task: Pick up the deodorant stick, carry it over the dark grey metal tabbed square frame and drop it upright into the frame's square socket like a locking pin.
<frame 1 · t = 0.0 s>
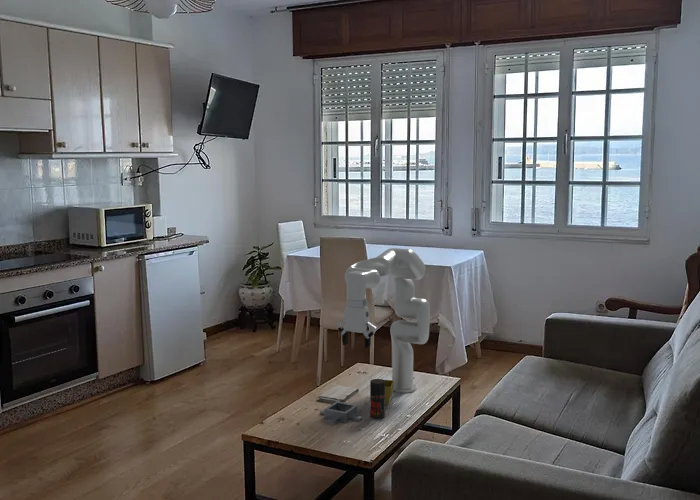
hand: (356, 345, 260), 31 cm above the table, fingers open, 9 cm apart
flower pot: (382, 403, 285), on the table
tabbed square frame: (341, 416, 270), on the table
washcloth: (338, 398, 294), on the table
deodorant: (377, 417, 270), on the table
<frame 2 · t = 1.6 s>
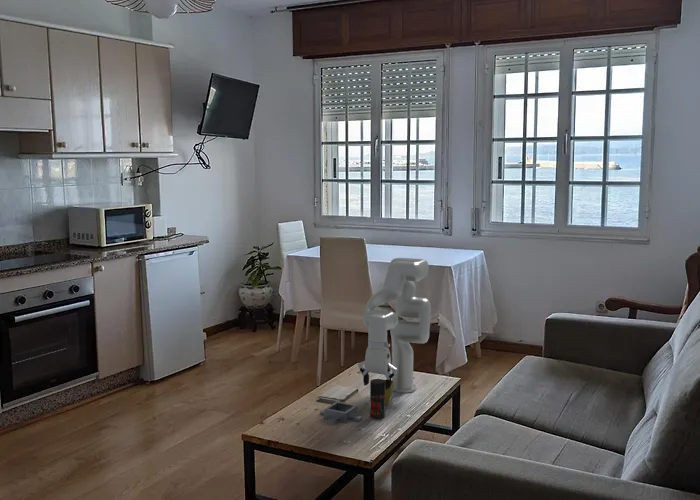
hand: (377, 386, 268), 13 cm above the table, fingers open, 9 cm apart
nothing on the table moved.
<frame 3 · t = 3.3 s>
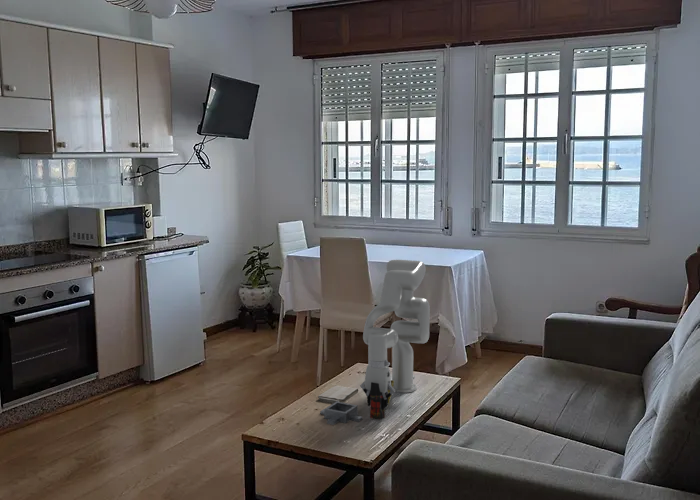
hand: (377, 405, 269), 5 cm above the table, fingers closed on deodorant, 5 cm apart
deodorant: (377, 417, 270), on the table, touching gripper
everything else where it was.
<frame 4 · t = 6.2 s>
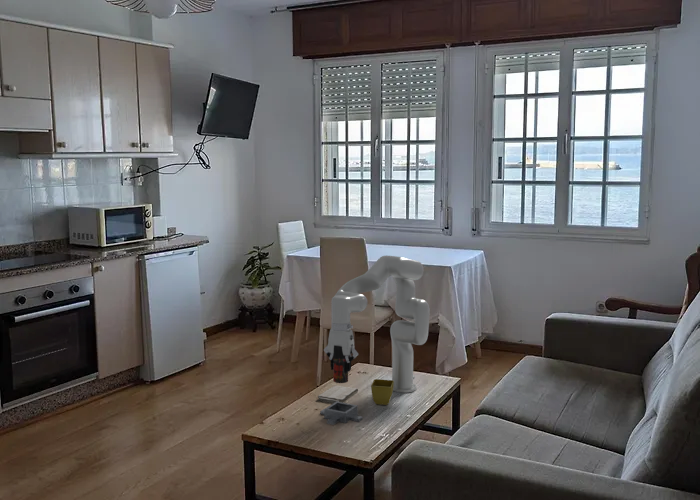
hand: (340, 369, 267), 20 cm above the table, fingers closed on deodorant, 5 cm apart
deodorant: (340, 381, 268), point 15 cm above the table, touching gripper
everything else where it was.
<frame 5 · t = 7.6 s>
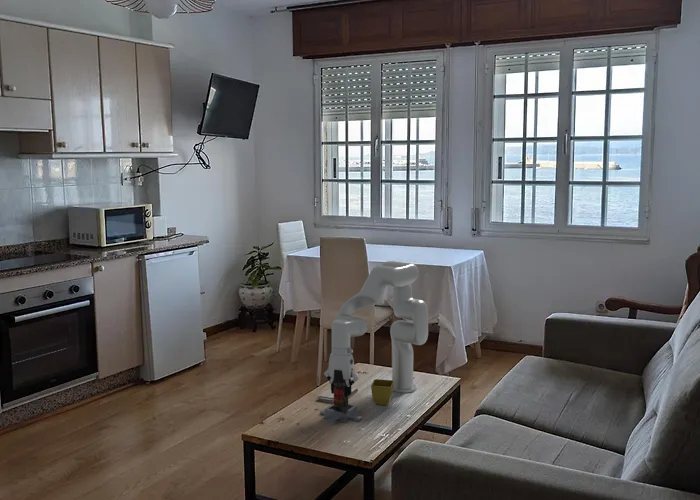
hand: (341, 393, 269), 10 cm above the table, fingers closed on deodorant, 5 cm apart
deodorant: (341, 404, 269), point 5 cm above the table, touching gripper
everything else where it was.
when the fingers open (7 cm above the table, at t = 9.0 s): deodorant drops 2 cm, resting in tabbed square frame.
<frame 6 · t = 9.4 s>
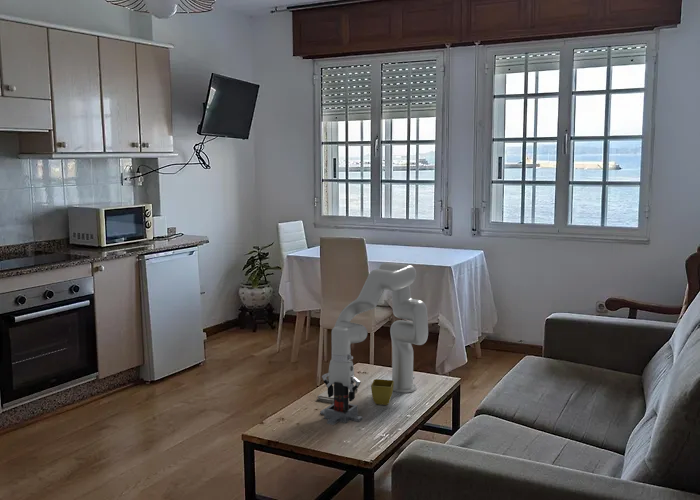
hand: (341, 398, 269), 8 cm above the table, fingers open, 9 cm apart
deodorant: (341, 417, 270), resting in tabbed square frame
everything else where it was.
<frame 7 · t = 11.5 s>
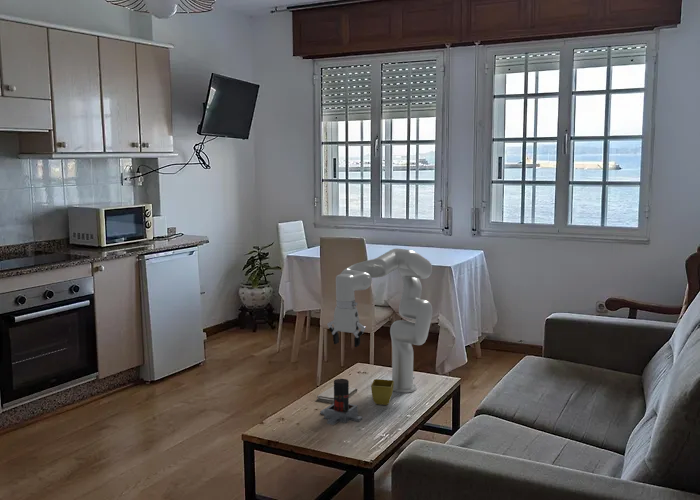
hand: (346, 344, 273), 28 cm above the table, fingers open, 9 cm apart
nothing on the table moved.
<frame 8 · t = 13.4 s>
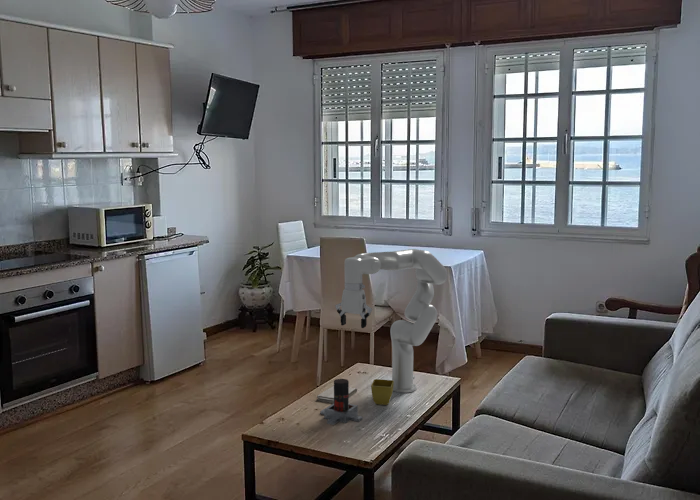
hand: (353, 326, 283), 33 cm above the table, fingers open, 9 cm apart
nothing on the table moved.
at the end: deodorant 0.1 cm off-centre on the tabbed square frame, point 0.0 cm above the tabbed square frame's base; deodorant tilted 0°; deodorant touching table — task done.
